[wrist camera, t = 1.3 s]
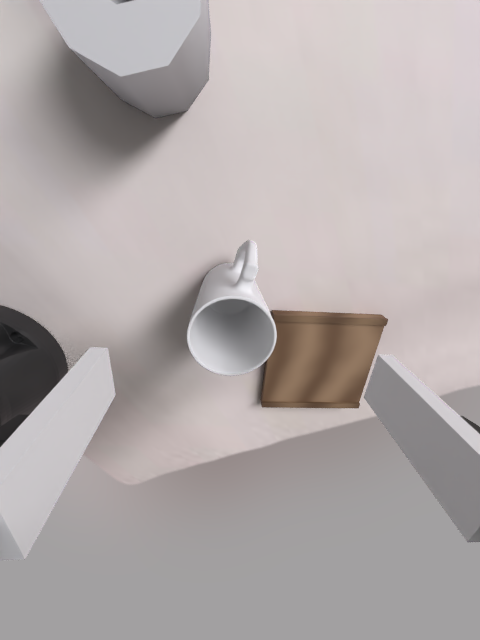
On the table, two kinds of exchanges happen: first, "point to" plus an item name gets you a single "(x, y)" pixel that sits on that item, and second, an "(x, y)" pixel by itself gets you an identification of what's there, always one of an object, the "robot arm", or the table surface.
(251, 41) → the table surface
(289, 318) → the wooden coaster
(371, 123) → the table surface
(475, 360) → the table surface
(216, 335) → the mug
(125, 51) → the toilet tissue
